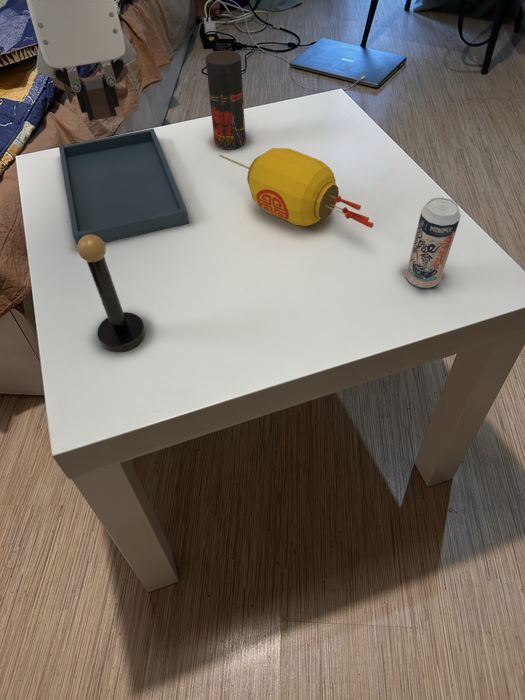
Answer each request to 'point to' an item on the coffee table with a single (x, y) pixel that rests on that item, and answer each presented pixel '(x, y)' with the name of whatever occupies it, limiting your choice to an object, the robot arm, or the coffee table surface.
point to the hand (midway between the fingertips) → (101, 113)
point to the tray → (120, 187)
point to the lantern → (296, 187)
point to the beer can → (433, 242)
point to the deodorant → (226, 98)
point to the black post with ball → (110, 301)
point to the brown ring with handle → (95, 93)
